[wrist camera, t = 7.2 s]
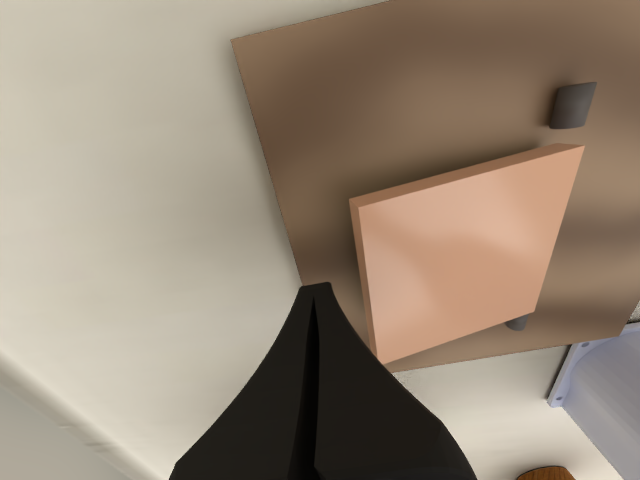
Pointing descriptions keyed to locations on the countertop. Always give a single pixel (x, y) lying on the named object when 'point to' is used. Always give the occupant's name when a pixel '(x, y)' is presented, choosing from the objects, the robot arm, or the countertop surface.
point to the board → (458, 140)
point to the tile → (459, 248)
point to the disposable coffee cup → (547, 474)
